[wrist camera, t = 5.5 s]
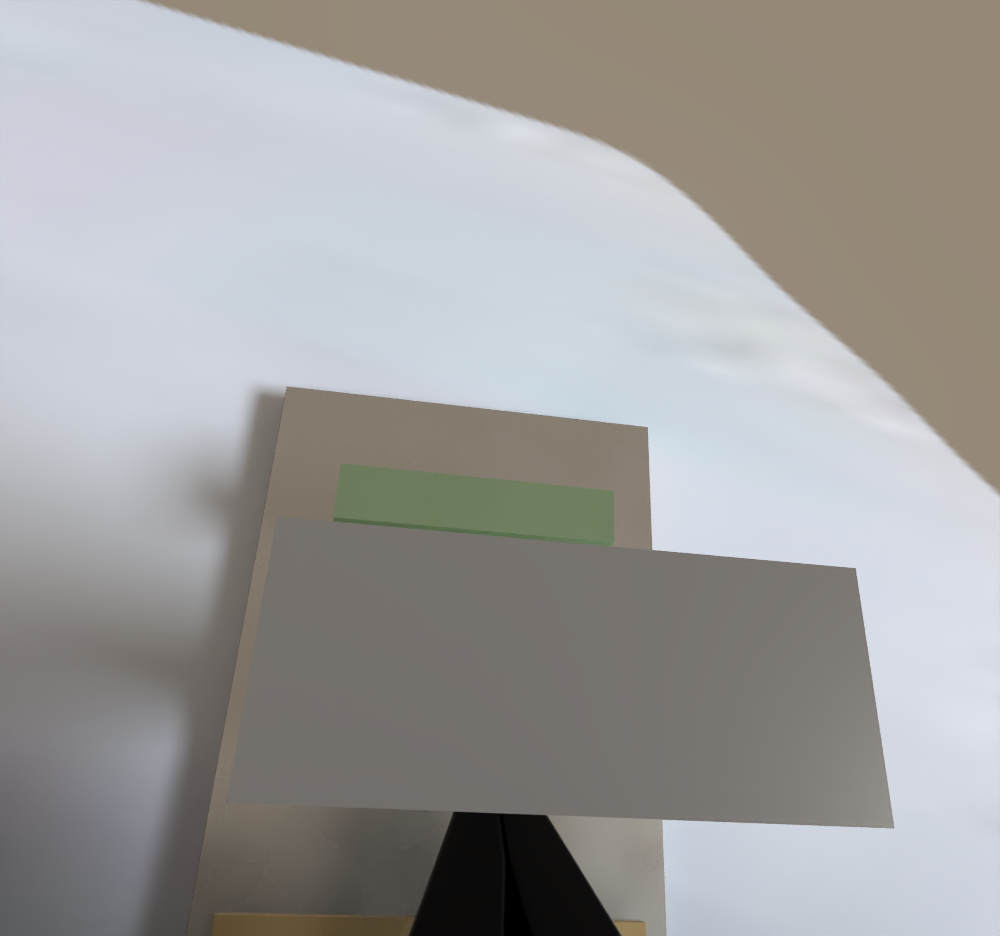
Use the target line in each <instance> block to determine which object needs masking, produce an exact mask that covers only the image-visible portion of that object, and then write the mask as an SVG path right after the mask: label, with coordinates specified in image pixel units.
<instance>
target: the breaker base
mask: <svg viewBox="0 0 1000 936" xmlns="http://www.w3.org/2000/svg"><path fill="white" fill-rule="evenodd" d="M277 517H288V518H299V519H310V520H321V521H333V522H344V523H355V524H366V525H377V526H388V527H399V528H411V529H422V530H433V531H444V532H455V533H466V534H478V535H489V536H500V537H511V538H522V539H533V540H544V541H556V542H567V543H578V544H589V545H600V546H611V547H623V548H634V549H645V550H652V533H651V506H650V479H649V452H648V427H641V426H632V425H623V424H614V423H605V422H596V421H587V420H579V419H570V418H561V417H552V416H543V415H534V414H525V413H517V412H508V411H499V410H490V409H481V408H472V407H464V406H455V405H446V404H437V403H428V402H419V401H410V400H402V399H393V398H384V397H375V396H366V395H357V394H348V393H340V392H331V391H322V390H313V389H304V388H295V387H287V389H286V394H285V399H284V405H283V410H282V416H281V421H280V427H279V432H278V437H277V443H276V448H275V454H274V459H273V465H272V470H271V475H270V481H269V486H268V492H267V497H266V503H265V508H264V513H263V519H262V524H261V530H260V535H259V541H258V546H257V551H256V557H255V562H254V568H253V573H252V579H251V584H250V589H249V595H248V600H247V606H246V611H245V617H244V622H243V627H242V633H241V638H240V644H239V649H238V655H237V660H236V665H235V671H234V676H233V682H232V687H231V693H230V698H229V703H228V709H227V714H226V720H225V725H224V731H223V736H222V741H221V747H220V752H219V758H218V763H217V769H216V774H215V779H214V785H213V790H212V796H211V801H210V807H209V812H208V817H207V823H206V828H205V834H204V839H203V845H202V850H201V855H200V861H199V866H198V872H197V877H196V883H195V888H194V893H193V899H192V904H191V910H190V915H189V921H188V926H187V931H186V936H408V935H409V932H410V929H411V927H412V924H413V921H414V918H415V916H416V913H417V910H418V907H419V905H420V902H421V899H422V896H423V894H424V891H425V888H426V885H427V883H428V880H429V877H430V874H431V872H432V869H433V866H434V863H435V861H436V858H437V855H438V852H439V850H440V847H441V844H442V841H443V839H444V836H445V833H446V830H447V828H448V825H449V822H450V819H451V817H452V814H453V811H428V810H402V809H376V808H350V807H324V806H298V805H272V804H246V803H227V797H228V791H229V786H230V780H231V774H232V769H233V763H234V757H235V752H236V746H237V740H238V734H239V729H240V723H241V717H242V712H243V706H244V700H245V695H246V689H247V683H248V678H249V672H250V666H251V661H252V655H253V649H254V644H255V638H256V632H257V627H258V621H259V615H260V610H261V604H262V598H263V593H264V587H265V581H266V576H267V570H268V564H269V559H270V553H271V547H272V542H273V536H274V530H275V525H276V519H277ZM547 816H548V817H549V819H550V821H551V822H552V824H553V825H554V827H555V829H556V830H557V832H558V833H559V835H560V837H561V838H562V840H563V842H564V843H565V845H566V846H567V848H568V850H569V851H570V853H571V854H572V856H573V858H574V859H575V861H576V862H577V864H578V866H579V867H580V869H581V871H582V872H583V874H584V875H585V877H586V879H587V880H588V882H589V883H590V885H591V887H592V888H593V890H594V891H595V893H596V895H597V896H598V898H599V900H600V901H601V903H602V904H603V906H604V908H605V909H606V911H607V912H608V914H609V916H610V917H611V919H612V920H613V922H614V924H615V925H616V927H617V929H618V930H619V932H620V933H621V935H622V936H666V911H665V884H664V857H663V830H662V819H637V818H611V817H585V816H559V815H547Z"/></svg>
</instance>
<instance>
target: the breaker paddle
mask: <svg viewBox="0 0 1000 936" xmlns="http://www.w3.org/2000/svg"><path fill="white" fill-rule="evenodd" d="M227 803H246V804H272V805H298V806H324V807H350V808H376V809H402V810H428V811H454V812H480V813H507V814H533V815H559V816H585V817H611V818H637V819H663V820H689V821H715V822H741V823H767V824H793V825H819V826H845V827H871V828H894V823H893V816H892V809H891V802H890V796H889V789H888V782H887V776H886V769H885V762H884V756H883V749H882V742H881V735H880V729H879V722H878V715H877V709H876V702H875V695H874V689H873V682H872V675H871V669H870V662H869V655H868V648H867V642H866V635H865V628H864V622H863V615H862V608H861V602H860V595H859V588H858V581H857V575H856V568H846V567H834V566H823V565H812V564H801V563H790V562H779V561H768V560H756V559H745V558H734V557H723V556H712V555H701V554H689V553H678V552H667V551H656V550H645V549H634V548H623V547H611V546H600V545H589V544H578V543H567V542H556V541H544V540H533V539H522V538H511V537H500V536H489V535H478V534H466V533H455V532H444V531H433V530H422V529H411V528H399V527H388V526H377V525H366V524H355V523H344V522H333V521H321V520H310V519H299V518H288V517H277V519H276V525H275V530H274V536H273V542H272V547H271V553H270V559H269V564H268V570H267V576H266V581H265V587H264V593H263V598H262V604H261V610H260V615H259V621H258V627H257V632H256V638H255V644H254V649H253V655H252V661H251V666H250V672H249V678H248V683H247V689H246V695H245V700H244V706H243V712H242V717H241V723H240V729H239V734H238V740H237V746H236V752H235V757H234V763H233V769H232V774H231V780H230V786H229V791H228V797H227Z"/></svg>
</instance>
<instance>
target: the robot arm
mask: <svg viewBox="0 0 1000 936" xmlns="http://www.w3.org/2000/svg"><path fill="white" fill-rule="evenodd" d="M408 936H622V935H621V933H620V932H619V930H618V929H617V927H616V925H615V924H614V922H613V920H612V919H611V917H610V916H609V914H608V912H607V911H606V909H605V908H604V906H603V904H602V903H601V901H600V900H599V898H598V896H597V895H596V893H595V891H594V890H593V888H592V887H591V885H590V883H589V882H588V880H587V879H586V877H585V875H584V874H583V872H582V871H581V869H580V867H579V866H578V864H577V862H576V861H575V859H574V858H573V856H572V854H571V853H570V851H569V850H568V848H567V846H566V845H565V843H564V842H563V840H562V838H561V837H560V835H559V833H558V832H557V830H556V829H555V827H554V825H553V824H552V822H551V821H550V819H549V817H548V816H547V815H533V814H507V813H480V812H454V811H453V814H452V817H451V819H450V822H449V825H448V828H447V830H446V833H445V836H444V839H443V841H442V844H441V847H440V850H439V852H438V855H437V858H436V861H435V863H434V866H433V869H432V872H431V874H430V877H429V880H428V883H427V885H426V888H425V891H424V894H423V896H422V899H421V902H420V905H419V907H418V910H417V913H416V916H415V918H414V921H413V924H412V927H411V929H410V932H409V935H408Z"/></svg>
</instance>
